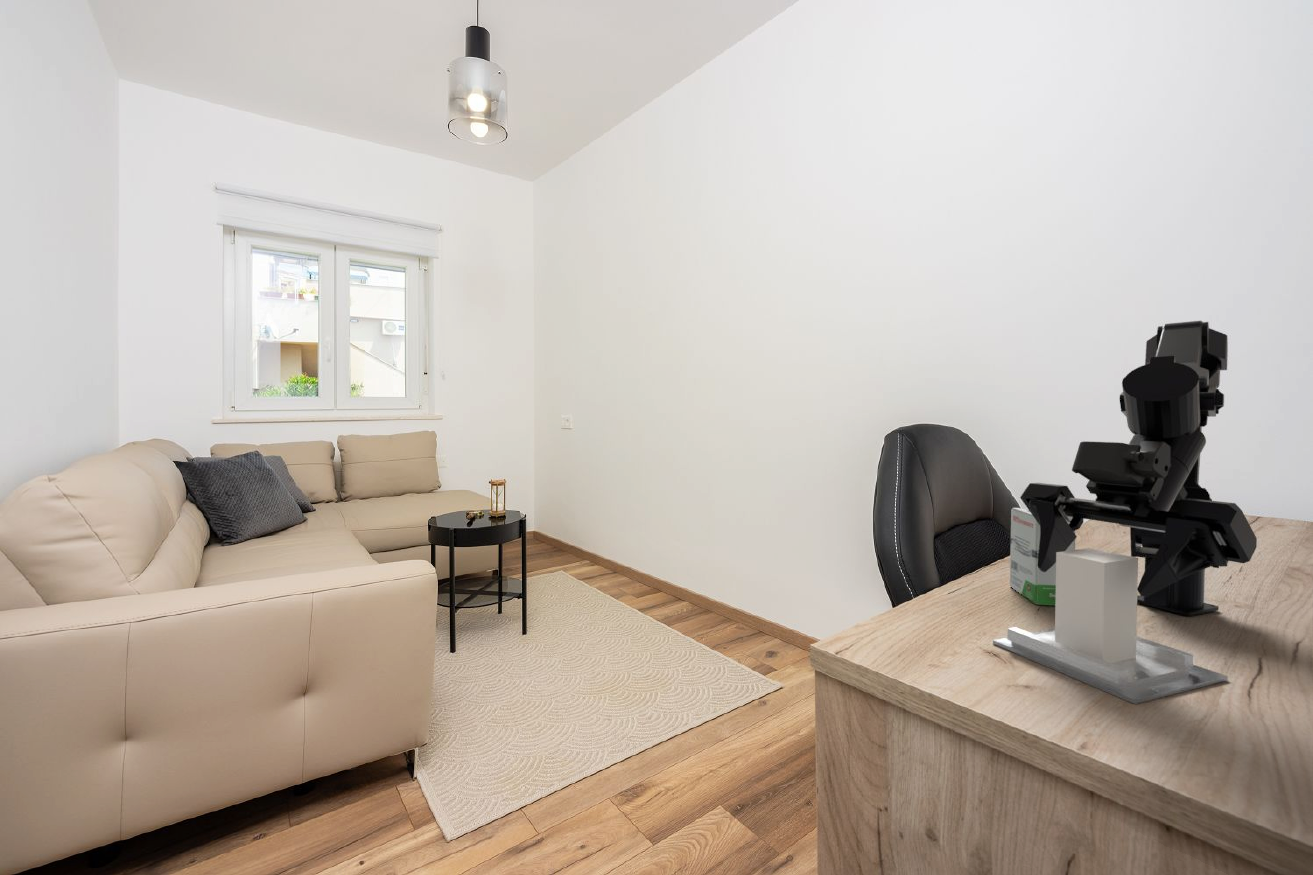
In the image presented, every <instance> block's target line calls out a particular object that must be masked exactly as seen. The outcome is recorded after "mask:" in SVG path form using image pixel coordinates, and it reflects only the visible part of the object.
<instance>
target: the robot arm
mask: <svg viewBox="0 0 1313 875" xmlns="http://www.w3.org/2000/svg"><path fill="white" fill-rule="evenodd" d="M1145 344H1146V345H1145V361H1144V365H1141V366H1138V367H1137V368H1134V369H1133V370H1131V371H1130V372H1129V373H1127V374H1126V376H1125V377H1123V378H1122V382H1121V386H1122V392H1121V393H1120V394H1119V405H1120V406H1119V407H1120V411H1121V413H1122V414H1123V415H1124V416H1125V417H1126V423H1127V428H1128V430H1129V432H1131V433H1132V434H1133V437H1132V438H1131V439H1130V441H1129V443H1126V442H1125V443H1124V442H1118V441H1117V442H1115V441H1085V440H1083V441H1081V442H1079V444H1078V449H1077V451H1076V455H1075V459H1074V461H1073V465H1072V467H1071V471H1072V472H1073V473H1075V474H1080V475H1081V476H1082V477H1083V478H1085V479H1087V480H1088V482H1087V484H1086V485H1085V487H1086V488H1087V490H1088V491H1089V492H1088V493H1089V494H1090V495H1091V494H1093V495H1095V496H1096V498H1095V499H1085V498H1076V497H1075V495H1074V494H1073V493H1072V491H1071V489H1070V488H1069V487H1068V485H1064V484H1063V485H1062V484H1052V483H1045V482H1044V483H1043V482H1030V483H1029V484H1028V485H1027V486H1026V488H1025V489H1024V491H1023V492H1022V494H1021V495H1020V497H1019V498H1020V500H1021V501H1022V502H1023V504H1024V505H1025V506H1026V507H1025V508H1028V509H1029V511H1030V512H1031V514H1032V515H1033V516H1034V518H1035V519H1036V521H1037V522H1038V524H1039V525H1040V543H1039V554H1038V564H1037V565H1038V568H1039V569H1040V571H1042V572H1046V571H1047V570H1048V569H1050V568H1051V567H1052V566H1053V565H1054V564H1055V563H1056V552H1063V551H1066V549H1067V548H1068V547H1069V546H1070V545H1071V543H1072V542H1073V541H1074V540H1075V541H1076V539H1077V537H1078V535H1077V534H1076V531H1077V530H1080V528H1081V527H1082V525H1083V523H1084V520H1091V521H1097V522H1104V523H1111V524H1118V525H1120V526H1121V527H1126V528H1129V531H1130V532H1129V534H1130V556H1131V557H1136V558H1142V559H1143V558H1144V571H1143V574H1142V576H1141V578H1140V581H1139V583H1138V588H1137V593H1139V595H1137V604H1142V605H1145V606H1149V607H1153V608H1156V609H1160V610H1163V611H1168V612H1170V613H1171V612H1172V613H1175V614H1179V615H1182V616H1188V617H1189V616H1195V615H1196V616H1197V615H1200V614H1206V613H1211V612H1216V611H1219V606H1218V605H1216V604H1211V603H1207V602H1205V579H1206V578H1205V576H1206V571H1205V570H1206V569H1208V568H1210V567H1211V568H1216V569H1220V568H1221V567H1228V563H1229V562H1232V563H1239V564H1245V563H1249V562H1250V561H1251V559H1252V557H1253V555H1254V553H1255V551H1256V549H1257V546H1258V545H1257V543H1258V542H1257V539H1258V538H1257V536H1256V534H1255V532H1254V531H1253V528H1252V526H1251V525H1250V523H1249V521H1248V520H1247V518H1246V515H1245V513H1244V512H1243V510H1242V509H1241V508H1240V507H1239V506H1238V505H1237V504H1236V502H1226V501H1217V500H1212V498H1211V494H1210V493H1209V491H1208V490H1207V489H1206V487H1202V486H1201V485H1200V484H1199V482H1200V462H1201V454H1202V452H1203V449H1204V448H1205V446H1206V443H1207V439H1206V436H1205V434H1204V433H1203V432H1202V430H1203V428H1204V427H1206V426H1207V425H1208V418H1209V417H1215V418H1216V417H1217V415H1219V413H1220V409H1222V408H1223V407H1225V394H1224V393H1222V392H1221V391H1220V389H1219V387H1220V381H1221V371H1228V360H1229V359H1228V356H1229V355H1228V352H1229V350H1228V349H1229V348H1228V346H1229V345H1228V344H1229V342H1228V334H1225V333H1223V332H1221V331H1217V330H1215V329H1213V328H1210V324H1209V321H1202V320H1193V321H1183V322H1182V321H1181V322H1171V323H1165V324H1163V325H1159V326H1157V332H1156V334H1155V335H1153V336H1152V337H1151V338H1149V339H1148V340H1146V343H1145ZM1073 531H1075V533H1074V532H1073Z"/></svg>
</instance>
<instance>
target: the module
mask: <svg viewBox="0 0 1313 875" xmlns="http://www.w3.org/2000/svg"><path fill="white" fill-rule="evenodd" d="M1138 577H1139V557H1131V555H1125V554H1120V553H1114V552H1111V551H1110V552H1109V551H1105V550H1101V549H1100V550H1099V549H1094V548H1092V547H1086V548H1079V549H1075V550H1070V551H1063V552H1056V601H1055V605H1054V606H1055V607H1054V608H1055V609H1054V611H1055V612H1054V616H1055V617H1054V629H1055V642H1057V643H1059V644H1062V645H1065V646H1067V647H1070V648H1073V649H1075V650H1078V651H1080V652H1083V653H1086V654H1088V655H1091V656H1094V657H1096V658H1099V659H1102V660H1104V661H1107V662H1110V663H1115V662H1119V661H1123V660H1127V659H1131V658H1136V636H1137V630H1138V628H1137V625H1138V622H1137V620H1138V602H1137V596H1138V590H1137V589H1138V586H1139V583H1138V580H1139V579H1138Z"/></svg>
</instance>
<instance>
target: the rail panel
mask: <svg viewBox="0 0 1313 875" xmlns="http://www.w3.org/2000/svg"><path fill="white" fill-rule="evenodd" d="M1006 631H1007V637H1003V638H997V639H993V640H992V644H993V645H995V646H997V647H1000V648H1002V649H1004V650H1006V651H1010V652H1012V653H1013V654H1016V655H1018V656H1021V657H1023V658H1025V659H1028V660H1030V661H1033V662H1035V663H1038V664H1040V665H1042V666H1044V667H1047V668H1049V669H1051V670H1053V671H1056V672H1059V673H1061V674H1064V675H1065V676H1068V677H1070V678H1073V679H1075V680H1077V681H1079V682H1082V683H1085V684H1087V685H1090V686H1091V687H1093V688H1096V689H1098V690H1101V691H1103V692H1105V693H1108V694H1111V695H1113V696H1114V697H1117V698H1119V699H1122V700H1124V701H1127V702H1130V703H1132V704H1134V705H1137V704H1140V703H1145V702H1149V701H1153V700H1156V699H1160V698H1164V697H1168V696H1173V695H1176V694H1181V693H1183V692H1188V691H1192V690H1195V689H1199V688H1203V687H1207V686H1211V685H1215V684H1218V683H1223V682H1227V681H1228V680H1229V679H1228V675H1225V674H1223V673H1222V674H1221V673H1219V672H1217V671H1213V670H1211V669H1208V668H1204V667H1202V666H1199V665H1195V664H1194V654H1193V653H1189V652H1186V651H1182V650H1179V649H1177V648H1173V647H1170V646H1168V645H1164V644H1161V643H1159V642H1155V641H1152V640H1150V639H1145V638H1143V637H1139V636H1137V635H1136V658H1131V659H1127V660H1123V661H1119V662H1115V663H1110V662H1107V661H1104V660H1102V659H1099V658H1096V657H1094V656H1091V655H1088V654H1086V653H1083V652H1080V651H1078V650H1075V649H1073V648H1070V647H1067V646H1065V645H1062V644H1059V643H1057V642H1055V628H1052V629H1046V630H1042V631H1036V632H1030V631H1027V630H1024V629H1022V628H1019V627H1016V626H1013V627H1009V628H1007V630H1006Z"/></svg>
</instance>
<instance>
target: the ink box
mask: <svg viewBox="0 0 1313 875" xmlns="http://www.w3.org/2000/svg"><path fill="white" fill-rule="evenodd" d="M1010 514H1011V515H1010V516H1011V517H1010V551H1009V552H1010V553H1009V554H1010V556H1009V557H1010V559H1009V561H1010V562H1009V587H1010V586H1011V587H1012V588H1013V590H1014V591H1015V590H1016V592H1017V593H1018V592H1019V593H1018V594H1020V595H1021V594H1022V596H1023V597H1024V598H1026V599H1027V598H1028V599H1027V600H1029V601H1030V602H1032V603H1034V604H1035V605H1038V606H1055V601H1056V563H1055V564H1054V565H1053V566H1052V567H1051V568H1050V569H1048V570H1047V571H1046V572H1042V571H1040V569H1039V568H1038V565H1037V564H1038V554H1039V543H1040V525H1039V524H1038V522H1037V521H1036V519H1035V518H1034V516H1033V515H1032V514H1031V512H1030V511H1029V509H1028V508H1027V507H1012V508H1011V510H1010ZM1073 532H1074V533H1075V534H1076V530H1075V531H1073ZM1070 550H1076V539H1075V540H1074V541H1073V542H1072V543H1071V545H1070V546H1069V547H1068V548H1067V549H1066V551H1070ZM1011 587H1010V588H1011ZM1012 588H1011V589H1012Z"/></svg>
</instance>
